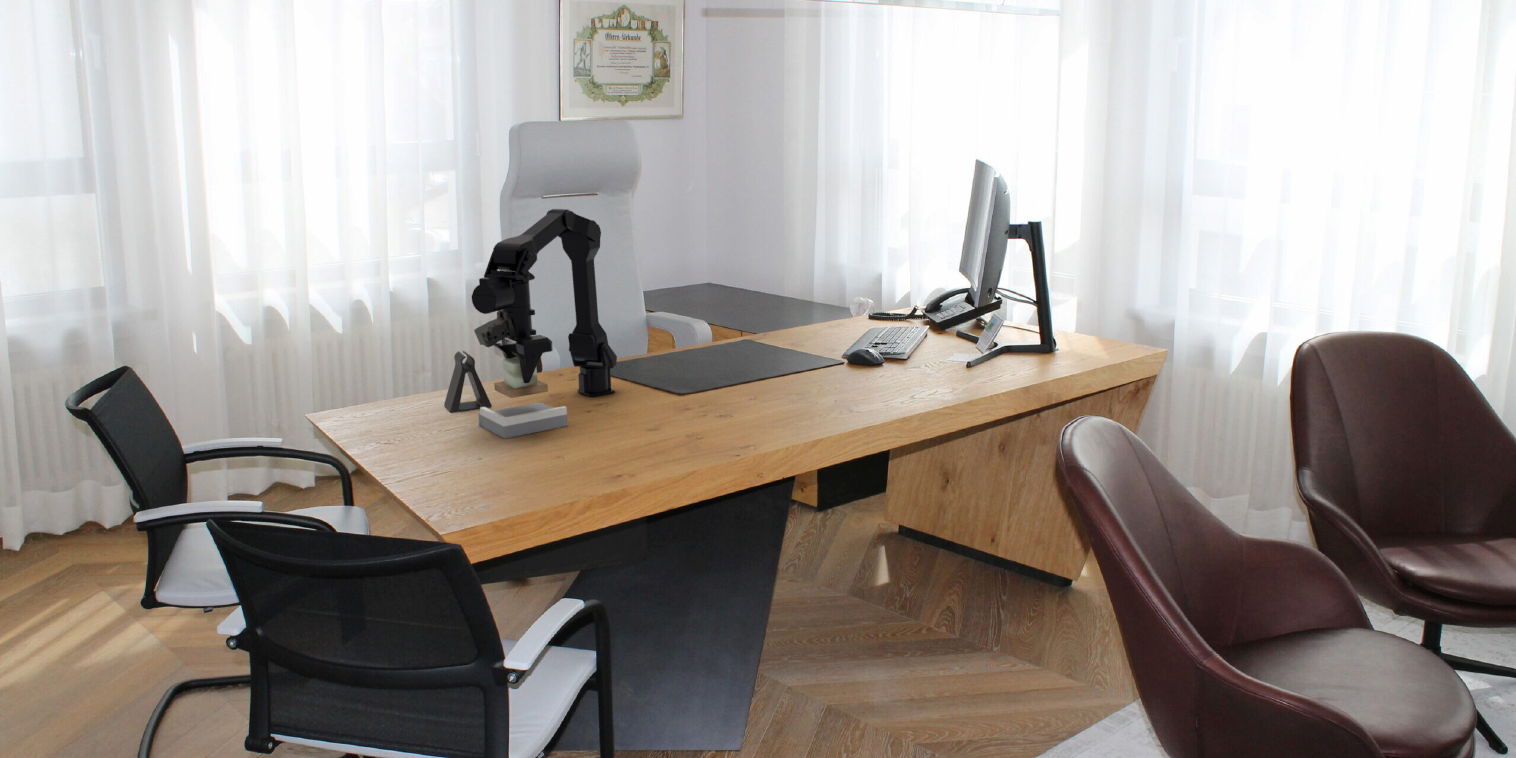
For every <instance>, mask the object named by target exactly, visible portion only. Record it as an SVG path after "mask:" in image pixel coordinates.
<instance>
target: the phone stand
mask: <svg viewBox="0 0 1516 758" xmlns="http://www.w3.org/2000/svg"><path fill="white" fill-rule="evenodd" d="M464 354H465V355H464ZM453 359H454V369H453V372H452V375H451V379H450V383H449V386H448V390H447V393H446V396H445V400H444V403H443V404H444V407H445V408H446V410H448V411H449V412H450V413H451V414H454V413H462V412H468V411H477V410H480V407H486V408H488V409H491V408H492V406H493V404H492V403H491V401H490V398H489V396H488V395H487V391H486V390H485V387H484V386H483V384H482V382H481V379H480V377H479V375H478V373H477V370H476V365H475V364H476V361H475V359H474V357H472V355H471V354H469V353H468V352H467V351H465V350H462V352H461V351H457V352H456V353H455V354H454V357H453ZM464 359H466V360H465V361H464ZM463 361H464V362H463ZM466 374H467V376H468V380H469V383H470V386H471V389H472V391H473V393H474V397H475V400H472V401H465V402H461V399H462V395H463V389H464V385H465V378H466Z"/></svg>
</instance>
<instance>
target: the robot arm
mask: <svg viewBox="0 0 1516 758" xmlns="http://www.w3.org/2000/svg"><path fill="white" fill-rule="evenodd" d="M601 236H602V230H601V227H600V225H599V224H598V223H597V222H596V221H595V220H592V219H589V218H587V217H584V216H581V215H579V214H577V213H575V212H574V211H572V210H570V209H567V208H566V209H565V208H563V209H562V208H552V209H550V210H548V211H547V212H546V214H545V215H544V216H543V217H542V218H540V219H539V220H538V221H537V222H535V223H534V224H533V225H532V226H530V227H529V228H528V229H526V230H525V231H524V232H523V233H521V234H519V235H517V236H513V237H509V238H506V239H503V240H501V241H499V242H497V243H495V244H494V246H493V250H492V252H491V254H490V258H489V261H488V264H487V266H486V268H485V270H484V271H485V272H484V274H483V277H481V278H479V281H478V282H479V284H478V285H477V286H475V288H474V289H473V291H472V295H471V302H472V305H473V307H474V308H475V310H477V312H478V313H481V314H483V315H488V314H492V313H495V312H496V318H495V319H493V320H489V321H487V322H486V323H484V324H482V325H480V326H478V327H476V328H475V329H474V334H475V336H476V339H477V340H478V343H479V345H481V346H482V345H483V346H484V347H486V348H491V347H493V346H494V347H495V348H496V349H498V350H499V351H501V353H502V354H503V357H504V359H509V358H515V357H518V358H519V361H520V366H521V371H522V377H523V381H524V383H529V382H530V380H531V378H532V375H533V373H534V371H535V368H536V367H537V366H538V364H539V361H540V360H541V358H542V355H544V354H545V353H550V352H553V349H554V348H553V341H552V339H550V338H549V337H547V336H543V335H542V334H537V329H536V328H535V329H534V328H533V327H532V326H533V323H532V316H535V315H536V310H535V309H532V307H531V292H530V288H531V287H530V281H533V280H535V278H536V277H535V275H534V274H533V273H532V272H530V270H531V269H532V268H533V266H534V265H535V264H536V262H537V261H538V254H539V253H540V251H541V250H543V249H544V248H545V247H546V246H548V245H549V244H550V243H551V242H552V241H554V240H555V239H556V238H559V239H561V245H562V250H563V251H564V253H565V254H566V255H567V257H568V258H569V260H570V262H571V274H572V287H573V288H572V289H573V299H574V312H575V327H574V329H573V330H572V332H571V333H570V332H569V333H568V337H567V339H568V345H569V346H568V352H569V353H570V357H571V360H572V364H573V367H575V368H577V367H579V373H578V375H577V377H578V378H577V379H578V389H577V392H578V393H580V394H583V395H586V396H588V397H597V396H602V395H608V394H614V393H615V392H616V390H615V389H613V388H612V375H611V374H612V372H611V369H614V368H615V367H616V365H617V360H618V356H617V354H616V353H615V351H614V350H613V349H612V348H611V346H610V345H609V341H608V340H609V339H608V334H607V333H606V331H605V329H604V328H603V326H602V324H600V322H599V310H598V297H597V285H596V284H597V283H596V271H595V268H596V267H595V258H596V255H597V254H598V253H599V252H598V251H599V249H600V248H601Z"/></svg>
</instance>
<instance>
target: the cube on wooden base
mask: <svg viewBox="0 0 1516 758" xmlns="http://www.w3.org/2000/svg"><path fill="white" fill-rule="evenodd" d="M502 369H503V381H498V382H494V391H496V392H498V393H500V394H501V395H504V396H506V397H508V398H509V399H510V398H511V399H514V398H520V397H525V396H533V395H537V394H543V393H548V391H549V385H548V384H547V383H545V382H543V381H541V380H538V371H537V369H538V368H537V366H536V368H535V371H534V373H533V375H532V378H531V380H530V382H529V383H524V381H523V377H522V371H521V366H520V361H519V358H518V357H515V358H509V359H505V358H502Z"/></svg>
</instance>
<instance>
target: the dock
mask: <svg viewBox="0 0 1516 758" xmlns="http://www.w3.org/2000/svg"><path fill="white" fill-rule="evenodd" d="M477 416H478V425H479V426H480V427H482V428H484V429H485V430H488V431H490V432H491V433H493V434H494V435H496V436H499V437H501V438H503V439H508V438H516V437H520V436H525V435H529V434H535V433H539V432H545V431H549V430H554V429H559V428H564V427H568V424H569V422H568V407H567V406H566V405H563V406H557V407H552V406H549V405H547V404H545V403H543V402H534V403H528V404H523V405H518V406H513V407H508V408H507V407H506V408H502V409H496V410H491V408H486V407H480V409H479V413H478V415H477Z"/></svg>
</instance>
